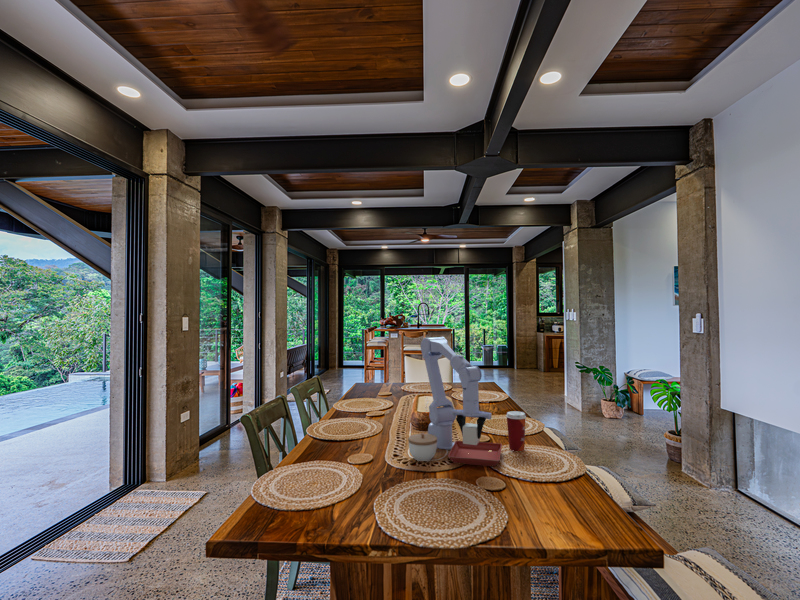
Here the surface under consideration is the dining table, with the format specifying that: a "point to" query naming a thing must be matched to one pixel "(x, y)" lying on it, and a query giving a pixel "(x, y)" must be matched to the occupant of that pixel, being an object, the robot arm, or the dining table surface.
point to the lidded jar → (422, 446)
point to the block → (470, 434)
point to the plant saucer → (476, 453)
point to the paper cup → (516, 430)
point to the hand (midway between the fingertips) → (471, 437)
